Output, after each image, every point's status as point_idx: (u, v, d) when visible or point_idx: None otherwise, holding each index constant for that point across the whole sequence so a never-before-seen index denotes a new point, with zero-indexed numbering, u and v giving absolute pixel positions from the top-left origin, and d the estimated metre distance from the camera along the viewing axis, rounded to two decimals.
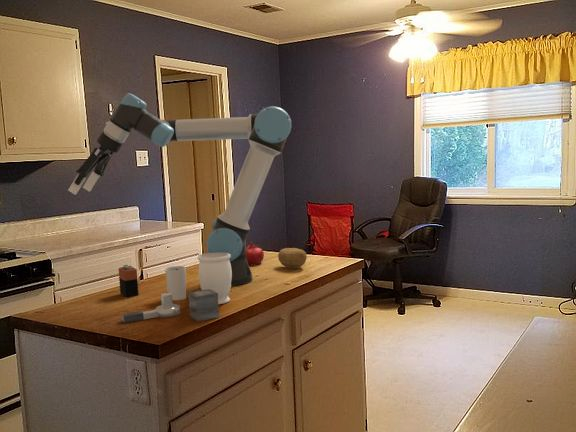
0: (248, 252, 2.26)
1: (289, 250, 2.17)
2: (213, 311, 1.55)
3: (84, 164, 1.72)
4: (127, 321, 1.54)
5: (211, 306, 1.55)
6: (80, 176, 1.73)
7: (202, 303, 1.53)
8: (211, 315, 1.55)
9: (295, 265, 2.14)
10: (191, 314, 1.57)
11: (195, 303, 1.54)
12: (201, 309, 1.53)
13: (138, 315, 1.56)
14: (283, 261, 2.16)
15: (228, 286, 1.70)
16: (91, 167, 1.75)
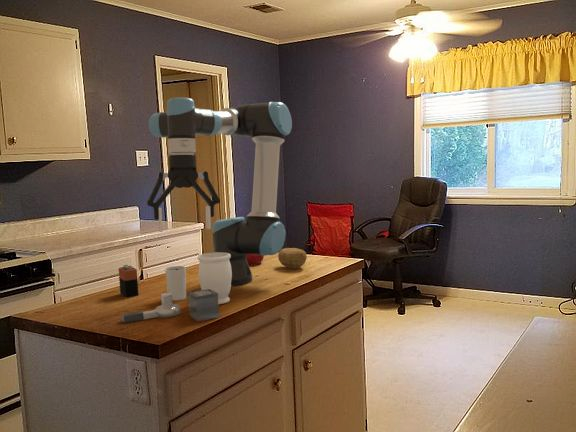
0: None
1: (289, 250, 2.17)
2: (213, 311, 1.55)
3: None
4: (127, 321, 1.54)
5: (211, 306, 1.55)
6: None
7: (202, 303, 1.53)
8: (211, 315, 1.55)
9: (295, 265, 2.14)
10: (191, 314, 1.57)
11: (195, 303, 1.54)
12: (201, 309, 1.53)
13: (138, 315, 1.56)
14: (283, 261, 2.16)
15: (228, 286, 1.70)
16: None
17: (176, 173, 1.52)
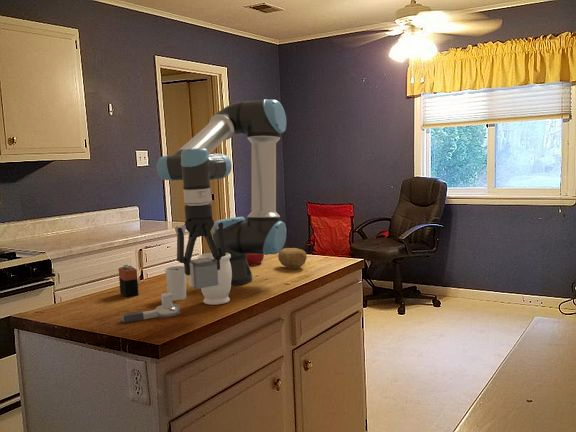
0: None
1: (289, 250, 2.17)
2: (212, 279, 1.54)
3: None
4: (127, 321, 1.54)
5: (210, 274, 1.54)
6: None
7: (201, 270, 1.53)
8: (210, 282, 1.54)
9: (295, 265, 2.14)
10: None
11: (194, 270, 1.53)
12: (200, 276, 1.53)
13: (138, 315, 1.56)
14: (284, 261, 2.16)
15: (228, 286, 1.70)
16: None
17: (192, 222, 1.52)
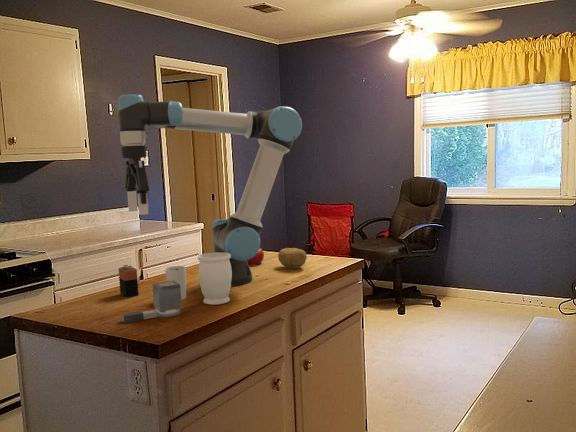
0: None
1: (289, 250, 2.17)
2: None
3: None
4: (127, 321, 1.54)
5: None
6: None
7: None
8: None
9: (295, 265, 2.14)
10: (164, 308, 1.57)
11: (176, 292, 1.59)
12: None
13: (138, 315, 1.56)
14: (284, 261, 2.16)
15: (228, 286, 1.70)
16: None
17: None
